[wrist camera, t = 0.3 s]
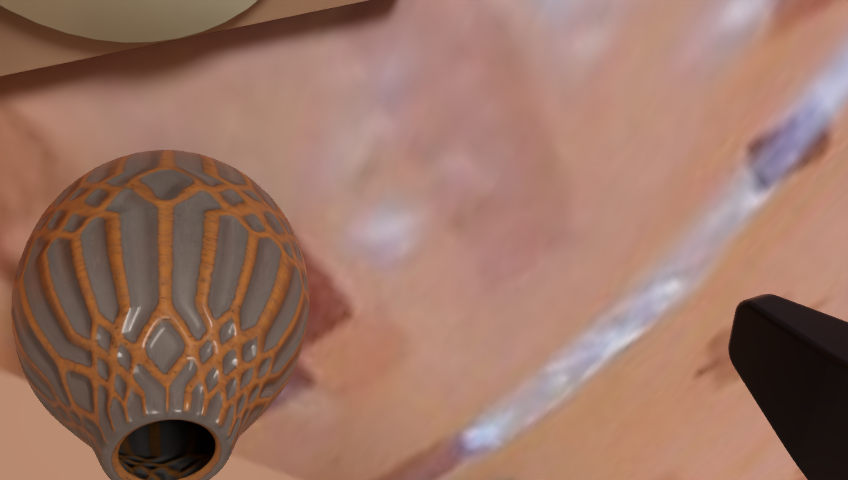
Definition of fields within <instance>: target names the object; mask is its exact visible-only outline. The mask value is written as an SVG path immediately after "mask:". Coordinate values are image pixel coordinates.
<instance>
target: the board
mask: <svg viewBox="0 0 848 480" xmlns="http://www.w3.org/2000/svg"><path fill="white" fill-rule="evenodd" d="M363 1H368V0H258V1H256V2H255V3H254V4H253V5H251V6H250V7H249V8H248V9H246V10H245V11H243V12H241V13H240V14H238V15H236V16H235V17H233V18H231V19H230V20H228V21H226V22H224V23H222V24H219V25H217V26H215V27H212V28H210V29H208V30H205V31H203V32H200V33H196V34H192V35H189V36H185V37H181V38H178V39H183V38H188V37H193V36H198V35H203V34H207V33H212V32H217V31H222V30H227V29H232V28H237V27H241V26H246V25H251V24H256V23H261V22H266V21H270V20H275V19H280V18H285V17H290V16H295V15H300V14H304V13H309V12H314V11H319V10H324V9H329V8H334V7H338V6H343V5H348V4H353V3H358V2H363ZM178 39H170V40H163V41H156V42H127V43H124V42H114V41H105V40H95V39H91V38H86V37H82V36H77V35H73V34H68V33H65V32H62V31H59V30H56V29H53V28H50V27H47V26H44V25H41V24H38V23H36V22H34V21H32V20H29V19H27V18H25V17H23V16H21V15H19V14H16V13H14V12H12V11H10V10H8V9H6V8H4V7H3V6H1V5H0V76H4V75H8V74H13V73H18V72H23V71H28V70H33V69H38V68H42V67H47V66H52V65H57V64H62V63H67V62H72V61H76V60H81V59H86V58H91V57H96V56H101V55H105V54H110V53H115V52H120V51H125V50H130V49H135V48H139V47H144V46H149V45H154V44H159V43H164V42H169V41H173V40H178Z"/></svg>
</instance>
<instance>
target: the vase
mask: <svg viewBox="0 0 848 480" xmlns="http://www.w3.org/2000/svg"><path fill="white" fill-rule="evenodd" d="M308 315H309V284H308V277H307V272H306V267H305V262H304V259H303V256H302V253H301V249H300V246H299V243H298V241H297V239H296V236H295V234H294V232H293V229H292V227H291V225H290V223H289V222H288V220H287V218H286V217H285V215H284V214H283V212H282V211H281V210H280V208H279V207H278V206H277V204H276V203H275V202H274V201H273V199H272V198H271V197H270V196H269V195H268V194H267V193H266V192H265V191H264V190H263V189H262V188H261V187H260V186H259V185H257V184H256V183H255V182H254V181H253V180H251V179H250V178H249V177H248V176H246V175H245V174H243V173H242V172H240V171H239V170H237V169H235V168H233V167H231V166H229V165H227V164H225V163H223V162H220V161H218V160H215V159H213V158H210V157H207V156H203V155H200V154H195V153H190V152H184V151H174V150H159V151H148V152H141V153H136V154H132V155H128V156H124V157H121V158H118V159H115V160H112V161H110V162H107V163H105V164H103V165H101V166H99V167H97V168H95V169H93V170H91V171H90V172H88V173H87V174H85V175H84V176H82V177H81V178H79V179H78V180H77V181H75V182H74V183H72V184H71V185H70V186H69V187H68V188H66V189H65V190H64V191H63V192H62V193H61V194H60V195H59V196H58V197H57V198H56V199H55V201H54V202H53V203H52V204H51V205H50V206H49V207H48V208H47V210H46V211H45V212H44V213H43V215H42V216H41V218H40V219H39V221H38V223H37V224H36V226H35V228H34V230H33V232H32V234H31V236H30V238H29V239H28V241H27V244H26V246H25V249H24V251H23V254H22V257H21V259H20V262H19V265H18V269H17V273H16V277H15V281H14V286H13V293H12V323H13V333H14V339H15V344H16V348H17V353H18V356H19V359H20V362H21V365H22V368H23V371H24V374H25V376H26V378H27V380H28V382H29V384H30V386H31V388H32V390H33V391H34V393H35V395H36V396H37V397H38V399H39V400H40V402H41V403H42V404H43V405H44V407H45V408H46V409H47V410H48V411H49V412H50V413H51V415H52V416H54V417H55V418H56V419H57V420H58V421H59V422H60V423H61V424H62V425H63V426H65V427H66V428H67V429H68V430H70V431H71V432H72V433H74V435H76V436H77V437H78V438H80V439H81V440H82V441H83V442H85V443H86V444H88V445H89V446H90V447H92V449H93V450H94V452H95V454H96V456H97V458H98V460H99V462H100V465H101V466H102V468H103V470H104V472H105V473H106V474H107V476H108V477H109V478H110V479H111V480H209V479H211V478H212V477H213V476H214V475H216V474H217V473H218V472H219V471H220V470H221V469H222V468H223V466H224V465H225V463H226V462H227V460H228V459H229V457H230V455H231V453H232V450H233V448H234V446H235V444H236V441H237V439H238V438H239V436H240V435H241V434H242V433H243V432H244V431H246V430H247V429H248V428H249V427H250V426H251V425H252V424H253V423H254V422H255V421H256V420H257V419H258V418H259V417H260V416H261V415H262V414H263V413H264V412H265V411H266V410H267V409H268V408H269V407H270V405H271V404H272V403H273V402H274V401H275V400H276V398H277V397H278V396H279V394H280V393H281V391H282V390H283V388H284V387H285V385H286V384H287V382H288V381H289V379H290V377H291V375H292V373H293V371H294V368H295V366H296V364H297V361H298V359H299V356H300V353H301V350H302V346H303V343H304V338H305V334H306V329H307V323H308Z"/></svg>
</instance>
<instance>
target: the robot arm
mask: <svg viewBox="0 0 848 480" xmlns="http://www.w3.org/2000/svg"><path fill="white" fill-rule="evenodd" d="M728 349H729V356H730V359H731V362H732V364H733V366H734V367H735V369H736V371H737V372H738V374H739V375H740V377H741V379H742V380H743V382H744V383H745V385H746V386H747V388H748V390H749V391H750V393H751V394H752V396H753V398H754V399H755V401H756V402H757V404H758V405H759V407H760V409H761V410H762V412H763V413H764V415H765V417H766V418H767V420H768V421H769V423H770V424H771V426H772V428H773V429H774V431H775V432H776V434H777V436H778V437H779V439H780V440H781V442H782V443H783V445H784V447H785V448H786V450H787V451H788V453H789V454H790V456H791V457H792V459H793V460H794V462H795V463H796V464H797V466H798V467H799V468H800V470H801V471H802V472H803V474H804V475H805V477H806V478H807V479H808V480H848V322H846V321H843V320H841V319H838V318H835V317H833V316H830V315H827V314H825V313H822V312H819V311H817V310H814V309H811V308H809V307H806V306H803V305H801V304H798V303H795V302H792V301H790V300H787V299H784V298H782V297H779V296H776V295H773V294H764V295H760V296H757V297H753V298H750V299H747V300H744V301H742V302H740V303H739V305H738V306H737V308H736V311H735V316H734V321H733V326H732V331H731V335H730V340H729V346H728Z"/></svg>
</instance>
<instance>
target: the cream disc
mask: <svg viewBox="0 0 848 480" xmlns="http://www.w3.org/2000/svg"><path fill="white" fill-rule="evenodd" d="M256 1H258V0H0V5H1V6H3V7H4V8H6V9H8V10H10V11H12V12H14V13H16V14H19V15H21V16H23V17H25V18H27V19H29V20H32V21H34V22H36V23H38V24H41V25H44V26H47V27H50V28H53V29H56V30H59V31H62V32H65V33H68V34H73V35H77V36H82V37H86V38H91V39H95V40H105V41H114V42H124V43H127V42H156V41H163V40H170V39H178V38H181V37H185V36H189V35H192V34H196V33H200V32H203V31H205V30H208V29H210V28H212V27H215V26H217V25H219V24H222V23H224V22H226V21H228V20H230V19H231V18H233V17H235V16H236V15H238V14H240V13H241V12H243V11H245V10H246V9H248V8H249V7H250V6H251V5H253V4H254V3H255V2H256Z"/></svg>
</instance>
